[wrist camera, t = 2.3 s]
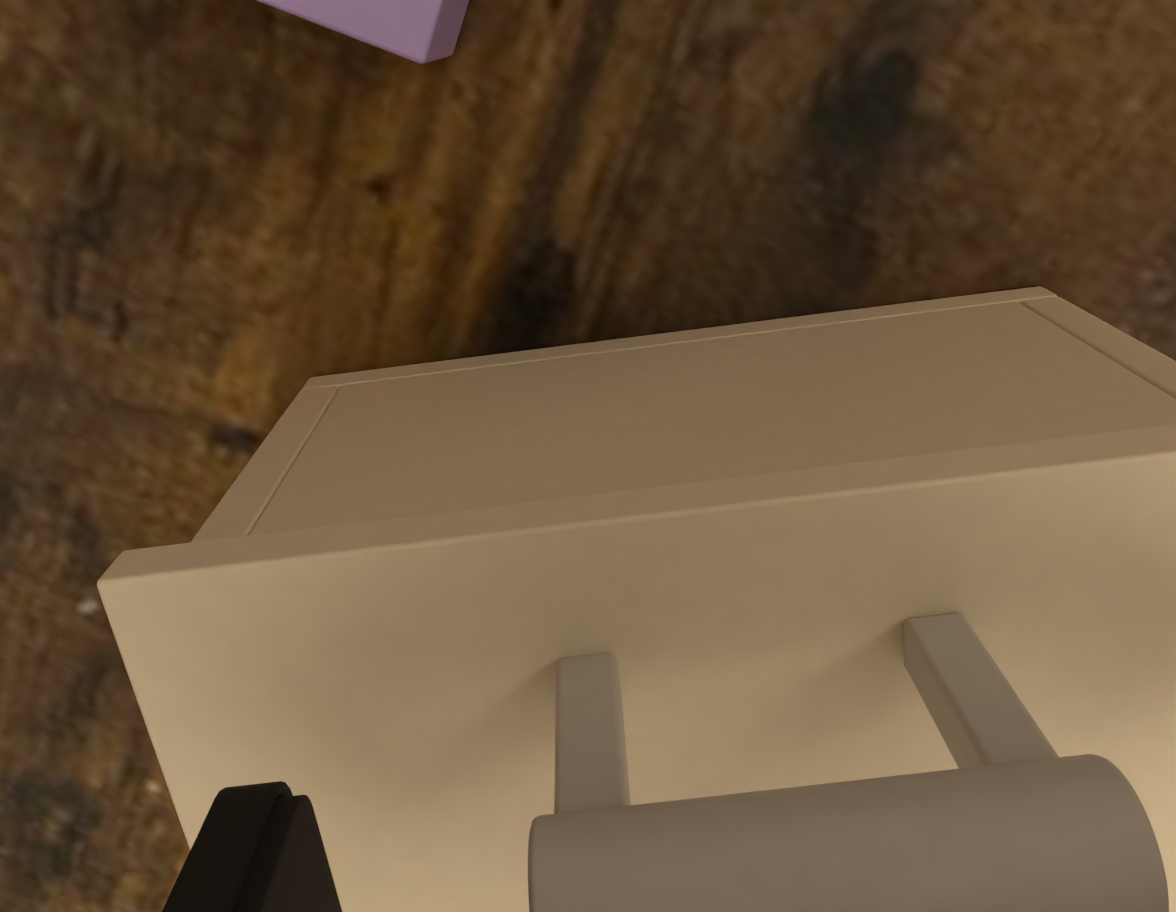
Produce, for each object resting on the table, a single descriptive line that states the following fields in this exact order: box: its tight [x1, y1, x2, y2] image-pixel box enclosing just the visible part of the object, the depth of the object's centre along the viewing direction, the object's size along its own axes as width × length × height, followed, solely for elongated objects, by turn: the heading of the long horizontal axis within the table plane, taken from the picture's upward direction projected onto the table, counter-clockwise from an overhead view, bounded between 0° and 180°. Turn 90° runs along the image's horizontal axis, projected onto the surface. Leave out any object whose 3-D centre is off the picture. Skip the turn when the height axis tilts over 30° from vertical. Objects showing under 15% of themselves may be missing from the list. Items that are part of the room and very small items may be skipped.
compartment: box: [190, 286, 1176, 543], centre depth 19 cm, size 13×15×9 cm
